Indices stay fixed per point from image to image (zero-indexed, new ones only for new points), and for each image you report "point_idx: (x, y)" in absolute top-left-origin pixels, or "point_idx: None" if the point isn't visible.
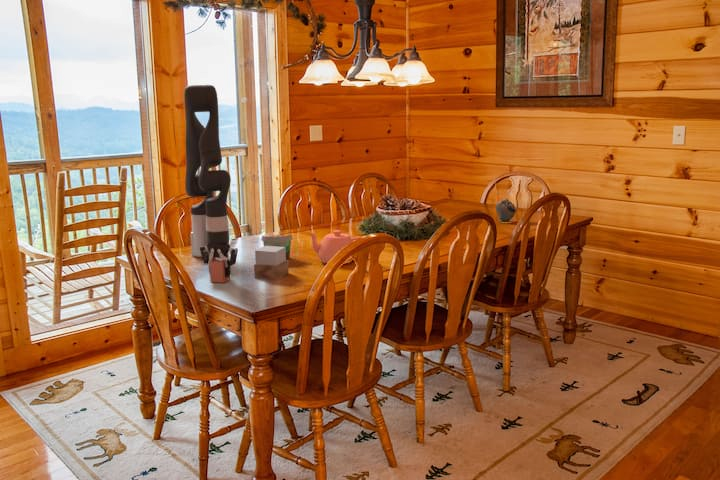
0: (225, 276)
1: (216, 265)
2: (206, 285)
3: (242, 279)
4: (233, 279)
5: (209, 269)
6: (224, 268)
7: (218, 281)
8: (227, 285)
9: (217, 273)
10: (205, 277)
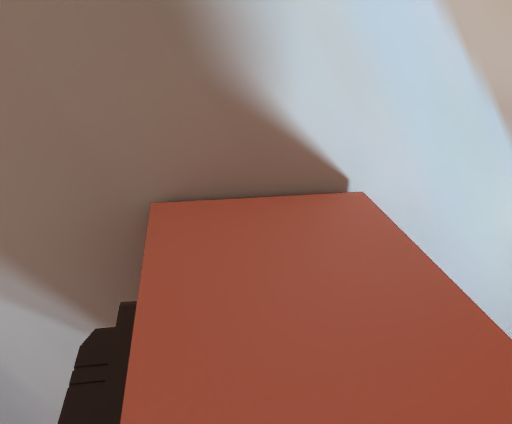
0: None
1: (321, 396)
2: (341, 22)
3: (23, 420)
4: None
5: None
6: None
7: (231, 204)
8: (12, 129)
9: (260, 267)
10: None
